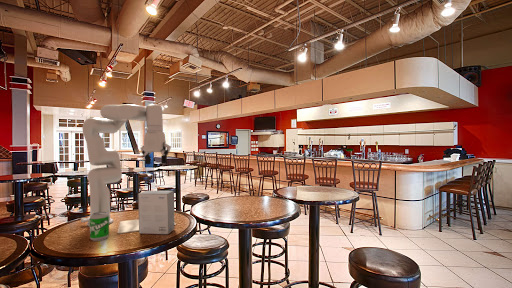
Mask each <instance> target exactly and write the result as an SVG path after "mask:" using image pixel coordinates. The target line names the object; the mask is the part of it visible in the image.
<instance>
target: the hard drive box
mask: <svg viewBox="0 0 512 288" xmlns="http://www.w3.org/2000/svg"><path fill="white" fill-rule="evenodd" d="M174 191H175V190H144V191H142V192H140V193H139V192H138V194H137V198H138V199H137V200H138V201H137V203H138V204H137V205H138V219H139V231H138V233H139V234H144V235H145V234H149V235H150V234H155V235H168V234H170V233H172V231H174V230H175V227H176V226H174V221H175V193H174Z"/></svg>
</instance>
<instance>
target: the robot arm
mask: <svg viewBox="0 0 512 288" xmlns="http://www.w3.org/2000/svg"><path fill="white" fill-rule="evenodd" d="M99 113H100V115H101V117H89V118H86V119H85V120H84V122H83V124H82V129H81V130H82V135H83V137H84V139H85V142H86V149H87V157H88V162H89V164H90V165H91V166H96V167H97V168H96V167H95V168H92V169H91V170H90V171H89V172H88V173H87V180H88V186H89V200H90V201H89V205H90V206H89V209H90V210H89V211H90V212H89V216H88V217H84V218H83V217H82V218H80V222H81V223H86V226H87V227H89V228H90V216H91V215H92V214H93V213H96V212H107V213H108V214H109V225H110V224H112V223H114V218H111V193H110V188H109V187H108V186H107V185H108V184H113V183H118V182H120V181H121V180H122V176H123V173H122V165H121V164H122V163H121V158H120V154H119V152H118V151H117V150H116V149H114V148H105V141H104V139H103V137H102V136H101V135H100V134H115V133H117V132H119V130H120V129H121V128H123V125H124V124H126V122H127V121H129V120H130V121H131V120H132V121H141V122H146V127H145V130H144V131H146V132H145V134H144V138H143V139H144V141H143V145H142V146H141V147H140V152H141V153H142V155H143V157H144V165H150V164H152V162H151V158H152V157H151V156H150V155H151V154H152V153H160V154H161V159H160V160H161V164H162V165H164V164H168V157H167V156H168V155H169V153H170V152H171V151H170V150H171V149H172V146H171V145H169V144H167V143H166V135H165V132H164V130H163V129H164V123H163V120H164V119H163V107H162V106H161V105H159V104H147V105H146V106H144V105H137V104H129V103H126V104H124V103H123V104H105V105H103V106H102V107H101V108H100V110H99ZM98 166H103V167H98ZM105 166H106V167H105Z"/></svg>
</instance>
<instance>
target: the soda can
mask: <svg viewBox="0 0 512 288" xmlns="http://www.w3.org/2000/svg"><path fill="white" fill-rule="evenodd" d="M89 217H90V227H89V239H90V240H92V241H93V242H99V241H104V240H106V239H107V238H108V237H109V235H110V228H109V227H110V224H109V214H108V213H107V212H96V213H93V214H92V215H91V216H90V215H89Z"/></svg>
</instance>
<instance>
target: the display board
mask: <svg viewBox="0 0 512 288" xmlns="http://www.w3.org/2000/svg"><path fill="white" fill-rule="evenodd" d="M174 225H176V226H177V223H176V222H175V220H174ZM136 232H139V218H138V219H129V220H128V219H127V220H121V221H119V225H118V229H117V233H116V235H121V234H127V233H136Z"/></svg>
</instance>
